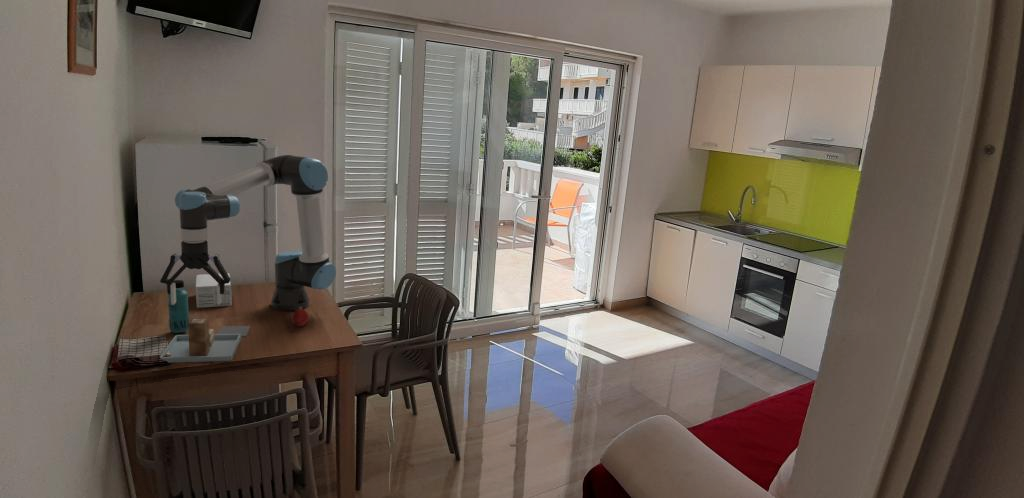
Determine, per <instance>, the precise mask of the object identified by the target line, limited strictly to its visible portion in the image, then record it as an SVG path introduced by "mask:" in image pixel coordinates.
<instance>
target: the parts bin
mask: <svg viewBox="0 0 1024 498" xmlns="http://www.w3.org/2000/svg"><path fill="white" fill-rule="evenodd" d="M241 340H242V337H241V334H218V333H216V334H215V333H214V343H213V345H212V347H210V352H209V353H208V355H207V356H190V354H189V334H175V336H173V338H172V339H171V341H170V342H169V343H168V345H167V346H166V347H165V349H164V351H163V352H162V353H161V354H160V356H159V357H160V358H161V359H163V360H166V361H167V362H168V364H169V363H171V364H172V363H198V362H199V363H200V362H201V363H202V362H203V363H205V362H230V361H231V362H232V361H233V358H234V355H235V353H236V351H237V349H238V346H239V345H240V342H241ZM168 351H170V353H171V357H163V356H164V355H165V354H166V353H167V352H168Z"/></svg>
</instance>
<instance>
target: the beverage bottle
mask: <svg viewBox="0 0 1024 498" xmlns="http://www.w3.org/2000/svg"><path fill="white" fill-rule="evenodd" d="M172 283H175V285H176V303H175V304H174V305H171V294H168V293H167V299H168V301H167V302H168V304H167V306H168V307H167V308H168V327H169V331H170V332H171V333H175V334H176V333H177V334H179V333H185V332H187V331H188V323H189V322H190V315H189V314H190V312H189V311H190V310H189V295H188V294H189V293H188V291H187V290H186V289H184V288H185V282H184V280H183V279H177V280H176V279H175V280H174V281H173V282H172Z"/></svg>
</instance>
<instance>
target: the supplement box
mask: <svg viewBox="0 0 1024 498" xmlns="http://www.w3.org/2000/svg"><path fill="white" fill-rule="evenodd" d="M217 274H218V275H219V276H220V277H221V278H222V276H221V274H220V273H217ZM227 274H228V276H229V277H230V278H231V274H230V273H229V272H227ZM222 279H223V278H222ZM223 280H224V279H223ZM231 282H232V281H230V282H229V283H226V284H225V292H224V294H221V299H222V302H221V304H220V305H217V285H218V282H217V281H216V280H215V279H214V278H213V277H212V276H211V275H210V274H209V273H207V274H204V273H203V274H196V277H195V300H196V301H195V302H196V308H197V309H199V308H212V307H227V306H228V307H229V306H230V307H231V306H232V305H233V304H232V285H231V284H232V283H231Z"/></svg>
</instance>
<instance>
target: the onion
mask: <svg viewBox="0 0 1024 498" xmlns="http://www.w3.org/2000/svg"><path fill="white" fill-rule="evenodd" d="M308 320H309V313H308V312H307V311H306V310H305V309H304V308H303V309H302V307H300V308H299V309H298V310H294V312H293V314H292V322H293V324H295V325H296V326H298V327H301V328H302V327H303V326H304V325H306V323H307V322H308Z"/></svg>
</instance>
